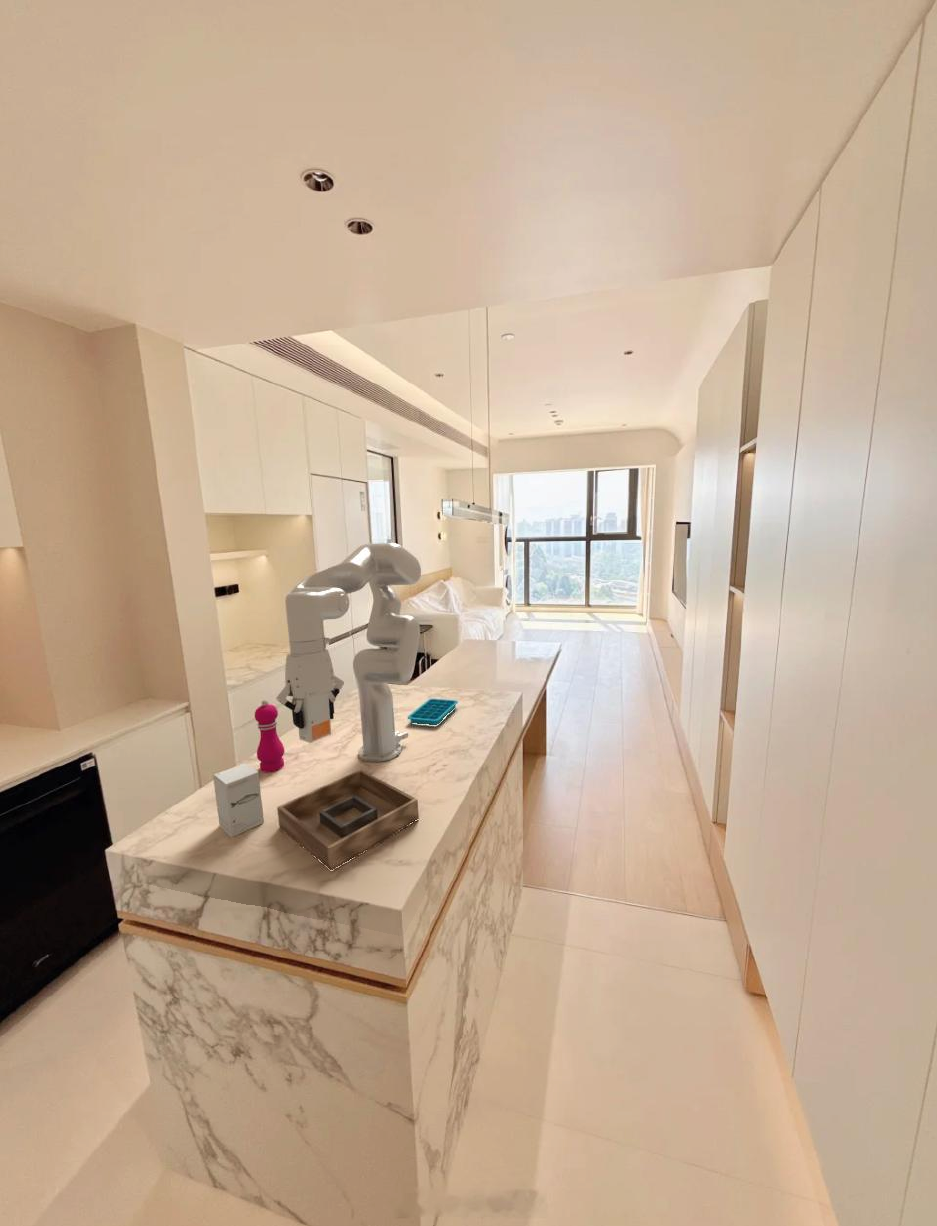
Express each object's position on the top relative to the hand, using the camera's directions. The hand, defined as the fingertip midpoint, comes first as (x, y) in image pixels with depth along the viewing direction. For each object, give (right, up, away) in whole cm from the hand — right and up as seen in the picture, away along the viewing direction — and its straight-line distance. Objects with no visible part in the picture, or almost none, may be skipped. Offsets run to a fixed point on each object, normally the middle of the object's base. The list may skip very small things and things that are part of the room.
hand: (314, 721), depth 109 cm
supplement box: (-16, -23, -1) cm, 28 cm away
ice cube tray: (+23, -12, +60) cm, 65 cm away
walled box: (+9, -22, -3) cm, 24 cm away
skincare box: (0, -4, +1) cm, 4 cm away
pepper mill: (-20, -19, +26) cm, 38 cm away
